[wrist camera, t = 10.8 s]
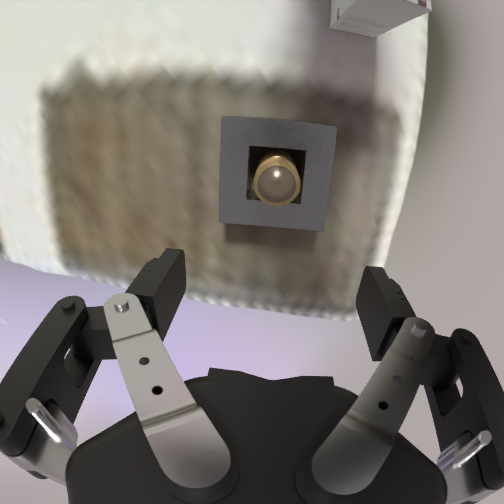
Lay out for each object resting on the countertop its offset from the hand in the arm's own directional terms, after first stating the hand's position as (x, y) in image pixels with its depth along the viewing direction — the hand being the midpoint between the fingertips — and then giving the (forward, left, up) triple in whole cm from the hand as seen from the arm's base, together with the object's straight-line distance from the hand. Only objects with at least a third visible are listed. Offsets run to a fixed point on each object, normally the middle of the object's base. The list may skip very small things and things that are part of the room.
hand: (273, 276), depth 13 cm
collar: (0, 0, -24) cm, 24 cm away
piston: (0, 0, -24) cm, 24 cm away
